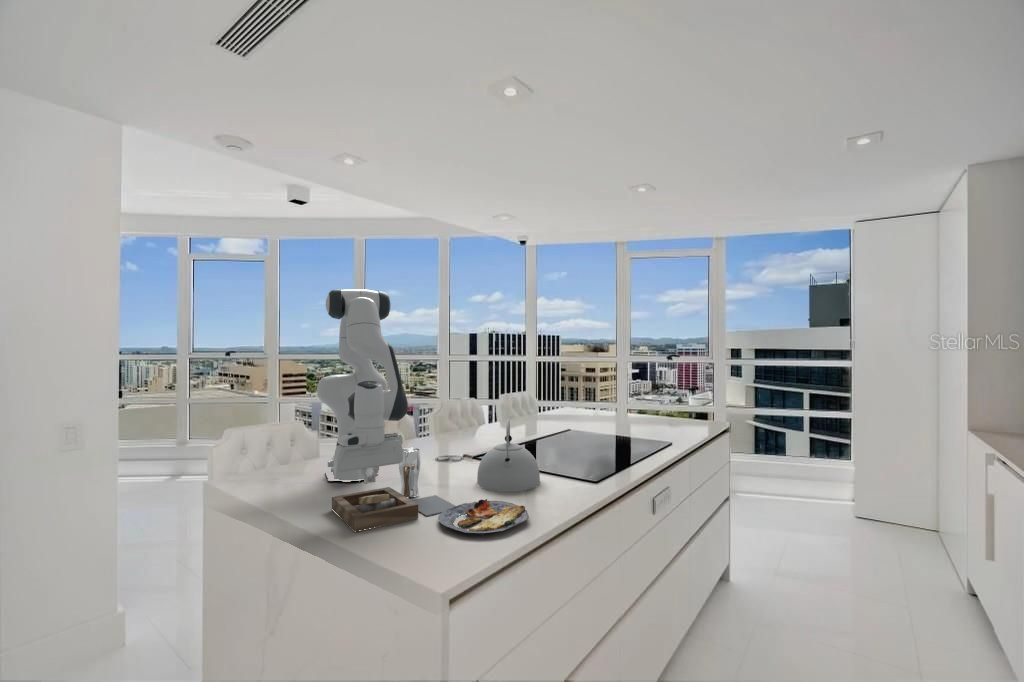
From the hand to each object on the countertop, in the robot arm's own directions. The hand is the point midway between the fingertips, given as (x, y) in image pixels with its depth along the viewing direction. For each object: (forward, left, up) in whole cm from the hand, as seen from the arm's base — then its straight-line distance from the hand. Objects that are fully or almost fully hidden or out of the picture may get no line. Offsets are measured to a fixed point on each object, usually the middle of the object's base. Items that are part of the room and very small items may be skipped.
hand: (369, 482), depth 148 cm
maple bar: (+3, 0, -4) cm, 5 cm away
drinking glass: (-7, +16, -9) cm, 20 cm away
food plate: (+28, +23, -9) cm, 37 cm away
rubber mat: (+7, +17, -9) cm, 20 cm away
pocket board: (+4, 0, -9) cm, 9 cm away
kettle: (0, +51, -9) cm, 51 cm away
